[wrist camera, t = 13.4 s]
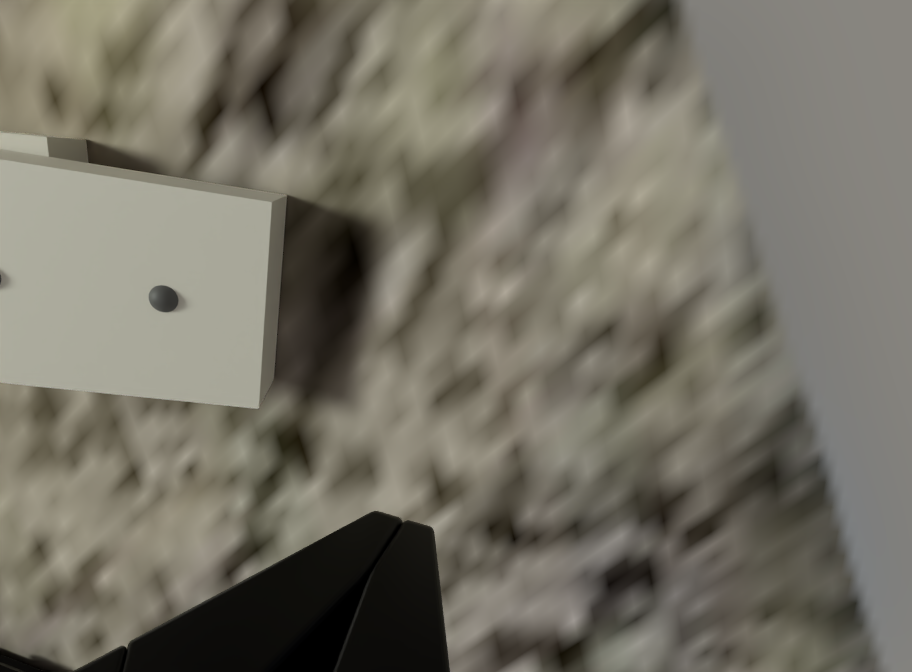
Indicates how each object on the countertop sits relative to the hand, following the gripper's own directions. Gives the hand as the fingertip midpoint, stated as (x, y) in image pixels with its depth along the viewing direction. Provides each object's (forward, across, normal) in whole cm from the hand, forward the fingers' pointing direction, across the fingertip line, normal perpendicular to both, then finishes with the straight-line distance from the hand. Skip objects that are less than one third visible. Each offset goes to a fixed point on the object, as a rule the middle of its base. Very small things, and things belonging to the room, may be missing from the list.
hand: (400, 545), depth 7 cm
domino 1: (+6, +11, -1) cm, 13 cm away
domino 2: (+6, +5, -1) cm, 8 cm away
